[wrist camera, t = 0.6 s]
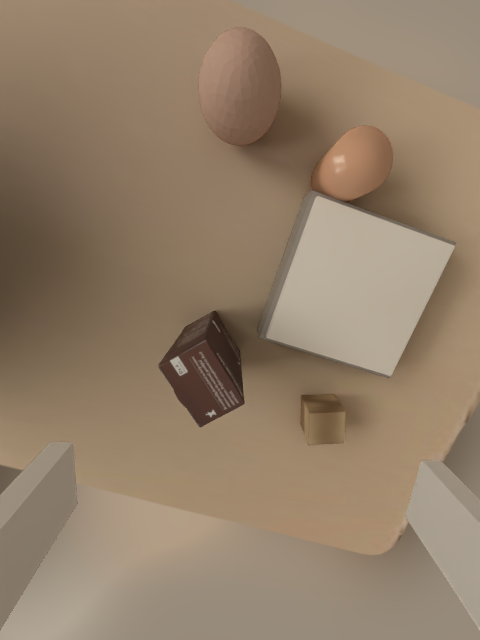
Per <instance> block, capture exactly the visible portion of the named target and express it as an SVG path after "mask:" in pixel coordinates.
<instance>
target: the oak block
mask: <svg viewBox="0 0 480 640" xmlns="http://www.w3.org/2000/svg"><path fill="white" fill-rule="evenodd" d="M345 418H346V412H345V410H344V409H343V407H342V406H341V404H340V403H339V402H338V400H337V399H336V397H335V396H334V394H323V395H301V426H302V429H303V431H304V434H305V437H306V439H307V442H308V445H317V444H341V443H344V433H345Z"/></svg>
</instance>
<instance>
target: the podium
mask: <svg viewBox="0 0 480 640" xmlns="http://www.w3.org/2000/svg"><path fill="white" fill-rule="evenodd" d="M455 244H456V243H455V242H452V241H450V240H447V239H444V238H442V237H439V236H436V235H433V234H431V233H428V232H425V231H422V230H420V229H417V228H414V227H411V226H409V225H406V224H403V223H401V222H398V221H395V220H392V219H390V218H387V217H384V216H381V215H379V214H376V213H373V212H370V211H368V210H365V209H362V208H360V207H357V206H354V205H351V204H349V203H346V202H343V201H340V200H338V199H335V198H332V197H329V196H327V195H324V194H321V193H318V192H316V191H313V190H312V191H311V192H310V193H309V194H307V195H306V196H305V197H304V198H303V201H302V204H301V207H300V210H299V213H298V215H297V218H296V221H295V224H294V227H293V230H292V232H291V235H290V238H289V241H288V244H287V247H286V250H285V252H284V255H283V258H282V261H281V264H280V267H279V269H278V272H277V275H276V278H275V281H274V284H273V286H272V289H271V292H270V295H269V298H268V301H267V303H266V306H265V309H264V312H263V315H262V318H261V320H260V323H259V326H258V329H257V332H258V335H259V339H263V340H266V341H269V342H272V343H276V344H279V345H282V346H285V347H289V348H292V349H295V350H298V351H302V352H305V353H308V354H311V355H315V356H318V357H321V358H324V359H328V360H331V361H334V362H337V363H341V364H344V365H347V366H350V367H354V368H357V369H360V370H363V371H367V372H370V373H373V374H376V375H380V376H383V377H386V378H389V377H390V376H391V375H392V373H393V371H394V369H395V367H396V365H397V363H398V361H399V359H400V357H401V355H402V353H403V351H404V349H405V347H406V345H407V343H408V341H409V339H410V337H411V335H412V333H413V331H414V329H415V327H416V325H417V323H418V321H419V319H420V317H421V315H422V313H423V311H424V309H425V307H426V305H427V302H428V300H429V298H430V296H431V294H432V292H433V290H434V288H435V286H436V284H437V282H438V280H439V278H440V276H441V274H442V272H443V270H444V268H445V266H446V264H447V262H448V260H449V258H450V256H451V254H452V252H453V250H454V248H455Z"/></svg>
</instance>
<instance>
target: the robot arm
mask: <svg viewBox="0 0 480 640" xmlns="http://www.w3.org/2000/svg"><path fill="white" fill-rule="evenodd" d="M77 504H78V503H77V490H76V477H75V464H74V451H73V443H71V442H50V443H49V444H48V445H47V446H46V447H45V448H44V449H43V450H42V452H41V453H40V454H39V455H38V456H37V457H36V458H35V459H34V460H33V461H32V462H31V463H30V464H29V465H28V466H27V467H26V468H25V469H24V470H23V472H22V473H21V474H20V475H19V476H18V477H17V478H16V479H15V480H14V481H13V482H12V483H11V484H10V485H9V486H8V487H7V488H6V489H5V490H4V492H3V493H2V494H1V495H0V630H1V628H2V626H3V625H4V623H5V622H6V620H7V618H8V616H9V615H10V613H11V612H12V610H13V609H14V607H15V605H16V604H17V602H18V600H19V599H20V597H21V595H22V594H23V592H24V590H25V589H26V587H27V586H28V584H29V582H30V581H31V579H32V577H33V576H34V574H35V572H36V571H37V569H38V568H39V566H40V564H41V563H42V561H43V559H44V558H45V556H46V555H47V553H48V551H49V550H50V548H51V546H52V545H53V543H54V541H55V539H56V538H57V536H58V535H59V533H60V531H61V530H62V528H63V526H64V525H65V523H66V522H67V520H68V518H69V517H70V515H71V514H72V512H73V510H74V509H75V507H76V505H77ZM405 517H406V518H407V520H408V521H409V523H410V524H411V526H412V527H413V529H414V530H415V532H416V534H417V535H418V537H419V538H420V540H421V541H422V543H423V544H424V546H425V547H426V549H427V550H428V552H429V553H430V555H431V557H432V558H433V560H434V561H435V562H436V564H437V566H438V567H439V569H440V570H441V572H442V573H443V575H444V576H445V578H446V579H447V581H448V583H449V584H450V586H451V587H452V589H453V590H454V592H455V593H456V595H457V596H458V598H459V599H460V601H461V602H462V604H463V605H464V607H465V608H466V610H467V611H468V613H469V615H470V616H471V618H472V619H473V620H474V622H475V624H476V625H477V627H478V628H479V630H480V500H479V499H478V498H477V497H476V496H475V495H474V494H473V493H472V492H471V491H470V490H469V489H468V488H467V487H466V486H465V485H464V484H463V483H462V482H461V481H460V480H459V479H458V478H457V477H456V476H455V475H454V474H453V473H452V472H451V471H450V470H449V469H448V468H447V467H446V466H445V465H444V464H443V463H442V462H441V461H433V460H422V461H421V464H420V467H419V471H418V474H417V478H416V481H415V484H414V488H413V491H412V494H411V498H410V501H409V505H408V508H407V511H406V515H405Z"/></svg>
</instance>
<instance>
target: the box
mask: <svg viewBox="0 0 480 640" xmlns="http://www.w3.org/2000/svg"><path fill="white" fill-rule="evenodd" d="M158 367H159V369H160V371H161V372H162V373H163V375H164V376H165V378H166V379H167V381H168V382H169V383H170V385H171V386H172V388H173V389H174V392H175V395H176V396H177V398H178V400H179V401H180V402H181V403H182V404H183V405H184V406H185V407H186V408H187V410H188V411H189V413H190V414H191V416H192V417H193V419H194V420H195V422H196V423H197V425H198V426H199V427H202V426H204V425H206V424H207V423H209V422H211V421H213V420H215V419H217V418H219V417H221V416H223V415H225V414H226V413H228V412H230V411H232V410H234V409H236V408H238V407H240V406H241V405H243V404H244V396H243V382H242V371H241V358H240V351H239V349H238V347H237V346H236V344H235V343H234V341H233V340H232V338H231V336H230V335H229V333H228V331H227V330H226V328H225V327H224V325H223V323H222V322H221V320H220V318H219V316H218V314H217V312H216V311H213V312H211V313H209V314H208V315H206V316H204V317H202V318H200V319H199V320H197V321H195V322H193V323H192V324H190V325H188V326H186V327H185V328H184V329H183V331H182V333H181V334H180V336H179V337H178V338H177V340H176V341H175V343H174V344H173V345H172V347H171V348H170V350H169V351H168V353H167V354H166V355H165V357H164V358H163V359H162V361H161V362H160V363H159V365H158Z"/></svg>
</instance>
